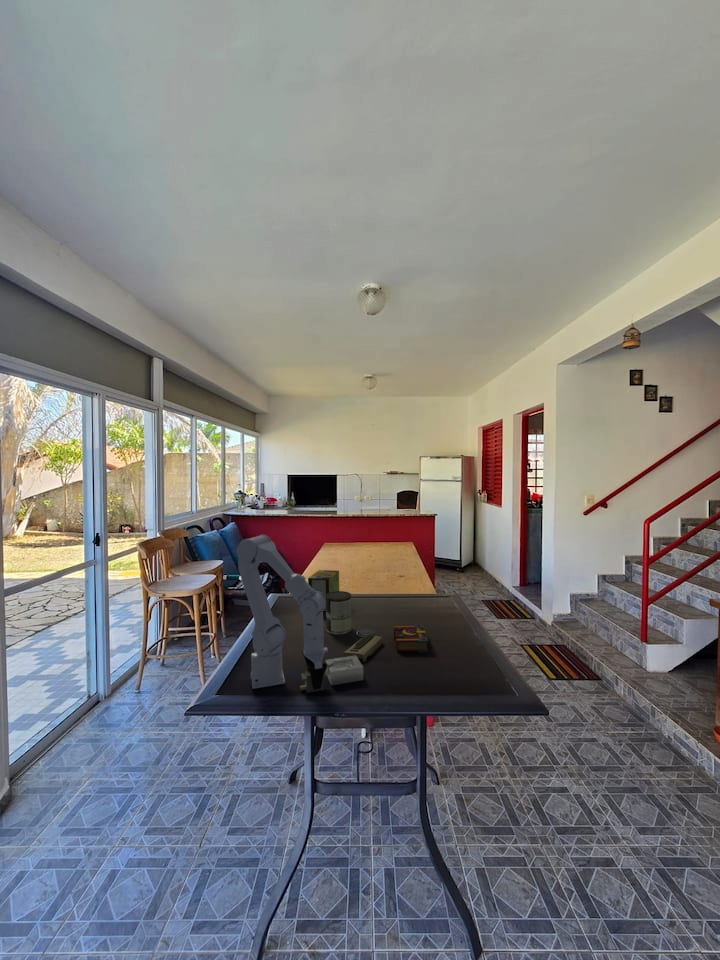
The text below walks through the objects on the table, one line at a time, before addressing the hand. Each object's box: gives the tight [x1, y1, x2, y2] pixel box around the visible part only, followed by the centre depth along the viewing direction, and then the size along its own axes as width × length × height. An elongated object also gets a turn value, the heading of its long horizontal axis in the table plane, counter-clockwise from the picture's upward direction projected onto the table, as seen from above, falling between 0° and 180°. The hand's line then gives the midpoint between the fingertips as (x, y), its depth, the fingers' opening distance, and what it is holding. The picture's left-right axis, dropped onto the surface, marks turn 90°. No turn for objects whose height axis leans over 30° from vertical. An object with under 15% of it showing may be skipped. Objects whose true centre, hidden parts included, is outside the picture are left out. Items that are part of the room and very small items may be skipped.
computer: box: [342, 635, 384, 663], centre depth 139 cm, size 16×8×3 cm, turn 153°
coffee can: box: [325, 590, 352, 635], centre depth 158 cm, size 10×10×14 cm
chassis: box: [325, 655, 364, 686], centre depth 122 cm, size 10×8×4 cm
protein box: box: [307, 569, 340, 611], centre depth 186 cm, size 10×15×16 cm
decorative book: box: [393, 623, 429, 654], centre depth 145 cm, size 11×16×5 cm
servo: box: [299, 670, 328, 694], centre depth 115 cm, size 8×3×6 cm, turn 107°
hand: (314, 681), depth 115 cm, fingers open, 7 cm apart
